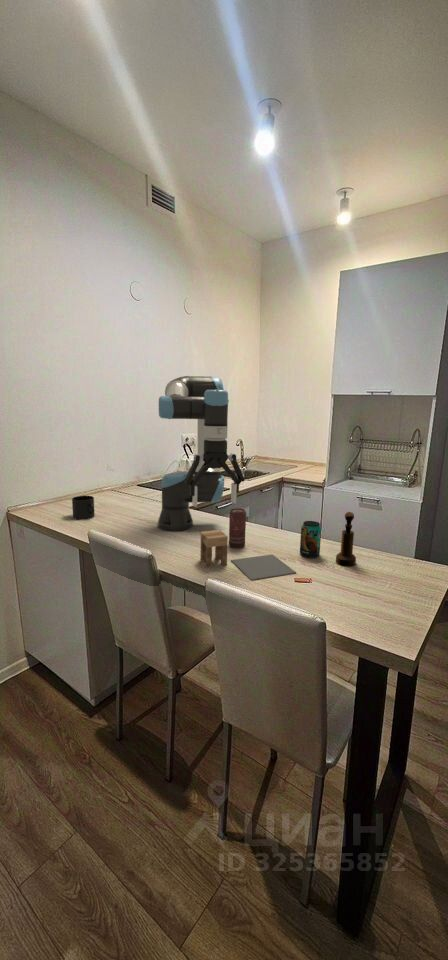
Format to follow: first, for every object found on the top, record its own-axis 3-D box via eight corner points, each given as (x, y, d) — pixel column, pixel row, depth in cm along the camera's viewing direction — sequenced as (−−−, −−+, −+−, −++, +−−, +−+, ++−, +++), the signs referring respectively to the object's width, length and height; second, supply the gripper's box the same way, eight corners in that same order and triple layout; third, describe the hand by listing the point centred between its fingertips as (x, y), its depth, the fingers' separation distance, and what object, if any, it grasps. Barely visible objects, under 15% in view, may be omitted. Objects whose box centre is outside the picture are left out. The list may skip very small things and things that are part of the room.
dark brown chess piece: (341, 557, 141) (345, 508, 137) (359, 562, 136) (363, 512, 133) (332, 562, 136) (336, 512, 133) (349, 568, 131) (354, 516, 128)
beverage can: (295, 554, 142) (297, 522, 140) (306, 550, 147) (308, 519, 145) (313, 560, 137) (315, 527, 135) (323, 555, 142) (325, 523, 140)
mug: (85, 522, 175) (84, 502, 173) (68, 517, 182) (67, 498, 180) (102, 517, 183) (101, 498, 181) (86, 512, 189) (85, 494, 188)
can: (244, 549, 147) (245, 512, 144) (227, 547, 148) (228, 511, 145) (246, 543, 152) (247, 508, 150) (230, 542, 154) (231, 507, 151)
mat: (230, 561, 135) (230, 559, 135) (272, 555, 141) (272, 554, 141) (250, 580, 121) (251, 579, 121) (296, 573, 127) (296, 572, 126)
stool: (200, 559, 136) (200, 531, 134) (219, 557, 138) (219, 529, 137) (207, 567, 130) (207, 538, 128) (226, 564, 132) (227, 536, 130)
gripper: (180, 441, 118) (180, 509, 122) (255, 439, 127) (253, 503, 131) (174, 438, 125) (174, 504, 129) (246, 437, 134) (244, 498, 138)
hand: (214, 504), depth 130 cm, fingers open, 13 cm apart
